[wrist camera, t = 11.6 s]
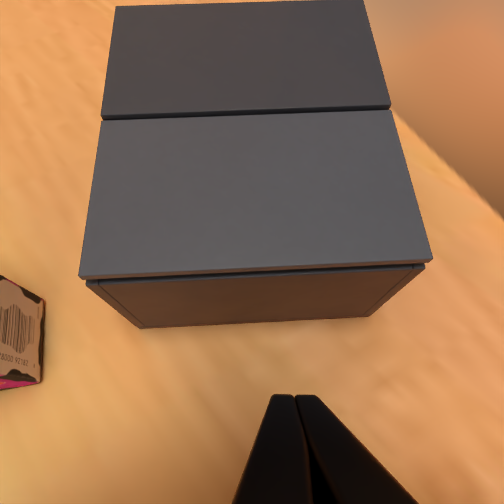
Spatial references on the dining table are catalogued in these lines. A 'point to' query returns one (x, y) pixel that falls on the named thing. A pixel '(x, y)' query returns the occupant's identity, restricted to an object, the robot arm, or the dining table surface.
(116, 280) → the carton
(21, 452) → the dining table surface
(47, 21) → the dining table surface
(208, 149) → the flap
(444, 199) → the dining table surface
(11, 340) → the candy bar box
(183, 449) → the dining table surface
